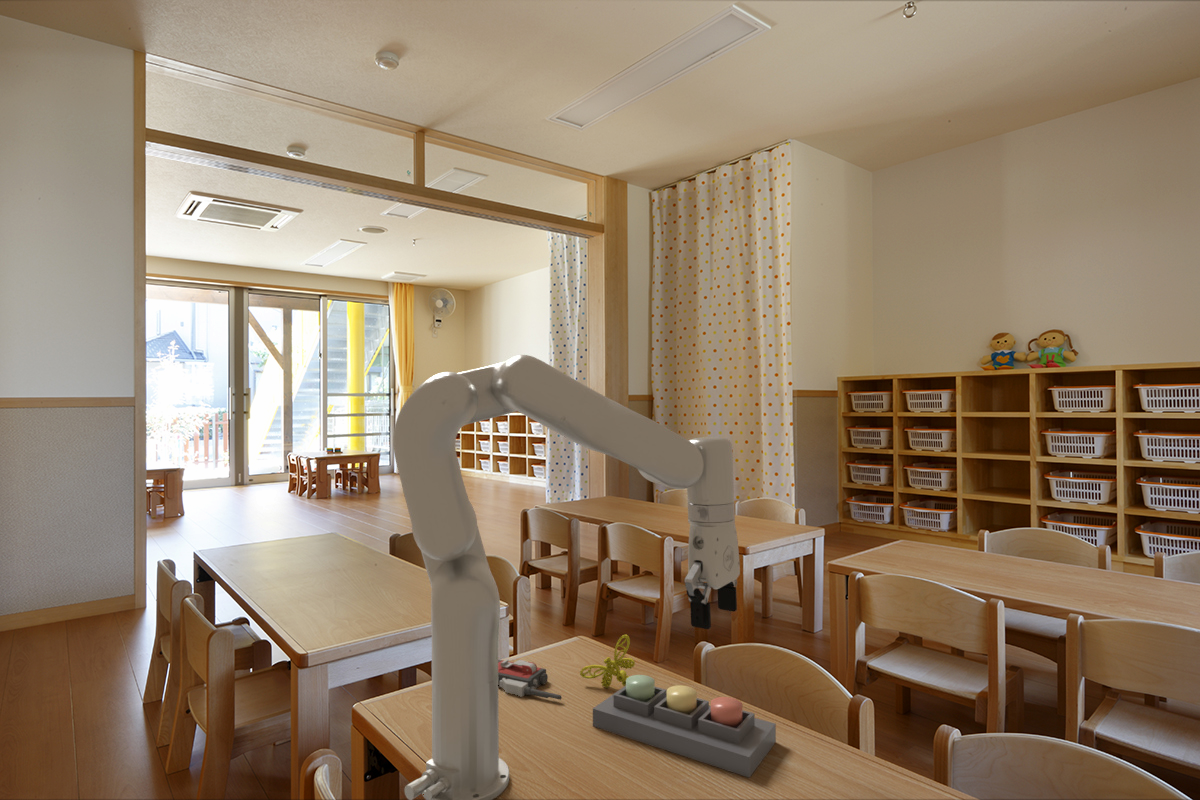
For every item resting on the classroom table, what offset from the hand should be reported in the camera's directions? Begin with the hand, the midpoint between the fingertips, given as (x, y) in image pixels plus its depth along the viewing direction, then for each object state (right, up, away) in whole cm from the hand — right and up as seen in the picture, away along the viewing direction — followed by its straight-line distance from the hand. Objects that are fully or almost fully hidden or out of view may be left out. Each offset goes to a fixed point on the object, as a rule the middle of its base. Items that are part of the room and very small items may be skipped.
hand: (714, 618), depth 103 cm
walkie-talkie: (-33, -22, +22) cm, 45 cm away
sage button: (-12, -16, +8) cm, 21 cm away
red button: (+2, -16, -1) cm, 16 cm away
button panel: (-5, -20, +3) cm, 21 cm away
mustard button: (-5, -16, +3) cm, 17 cm away
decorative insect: (-16, -21, +22) cm, 34 cm away
